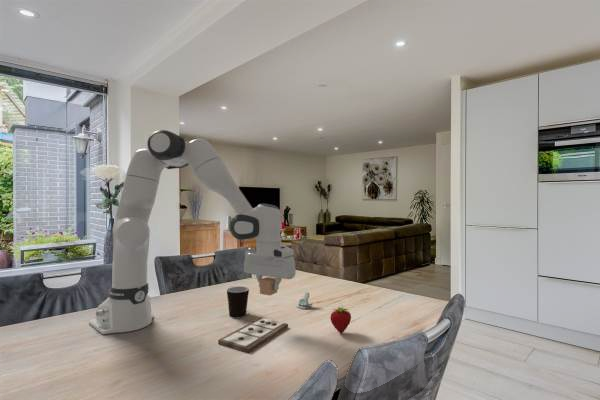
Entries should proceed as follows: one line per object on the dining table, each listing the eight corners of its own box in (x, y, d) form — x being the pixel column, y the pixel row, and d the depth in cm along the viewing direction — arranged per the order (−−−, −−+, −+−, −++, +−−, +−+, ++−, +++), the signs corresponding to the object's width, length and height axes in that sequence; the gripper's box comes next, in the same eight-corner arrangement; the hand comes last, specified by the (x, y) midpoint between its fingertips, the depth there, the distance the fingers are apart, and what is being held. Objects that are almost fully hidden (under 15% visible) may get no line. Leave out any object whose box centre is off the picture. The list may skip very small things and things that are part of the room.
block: (259, 293, 110) (260, 279, 110) (267, 290, 114) (267, 276, 114) (270, 295, 108) (270, 281, 108) (277, 292, 112) (277, 278, 112)
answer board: (218, 343, 98) (218, 338, 98) (260, 320, 117) (260, 316, 117) (248, 353, 92) (248, 347, 92) (287, 327, 111) (287, 322, 111)
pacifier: (302, 311, 129) (314, 308, 132) (301, 295, 129) (314, 293, 132) (294, 305, 135) (306, 303, 138) (293, 291, 135) (306, 289, 138)
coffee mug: (243, 319, 118) (244, 293, 118) (222, 317, 120) (222, 291, 120) (254, 309, 130) (254, 285, 130) (234, 307, 131) (235, 283, 131)
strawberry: (326, 331, 108) (326, 302, 108) (344, 328, 111) (345, 299, 111) (336, 338, 102) (336, 307, 102) (354, 334, 106) (355, 304, 106)
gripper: (240, 248, 114) (240, 286, 113) (288, 253, 104) (288, 295, 103) (251, 246, 119) (250, 282, 119) (297, 250, 109) (297, 290, 109)
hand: (268, 288), depth 111 cm, fingers closed on block, 4 cm apart
